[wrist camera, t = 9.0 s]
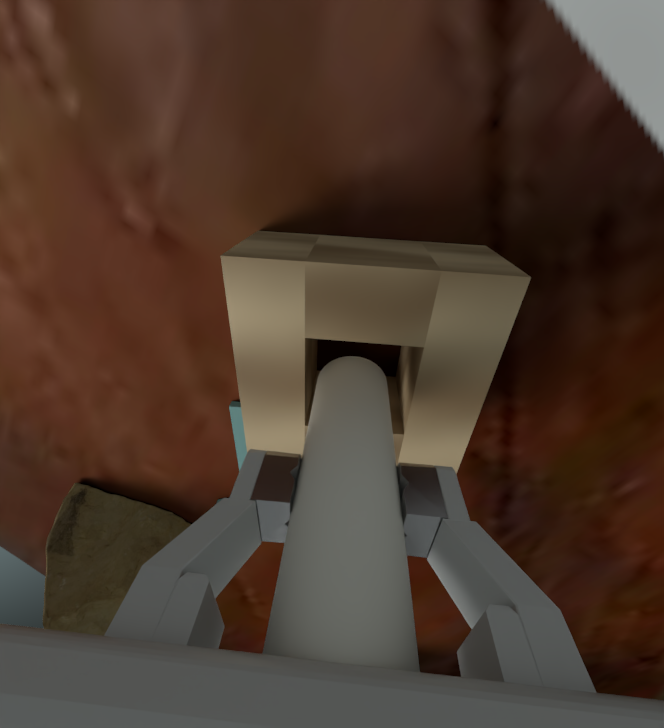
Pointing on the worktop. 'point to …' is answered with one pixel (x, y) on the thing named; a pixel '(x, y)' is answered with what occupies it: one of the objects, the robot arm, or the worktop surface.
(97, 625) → the rock
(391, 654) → the long grey cylinder
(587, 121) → the worktop surface
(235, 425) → the hex key
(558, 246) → the worktop surface
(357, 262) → the wooden block with hole
